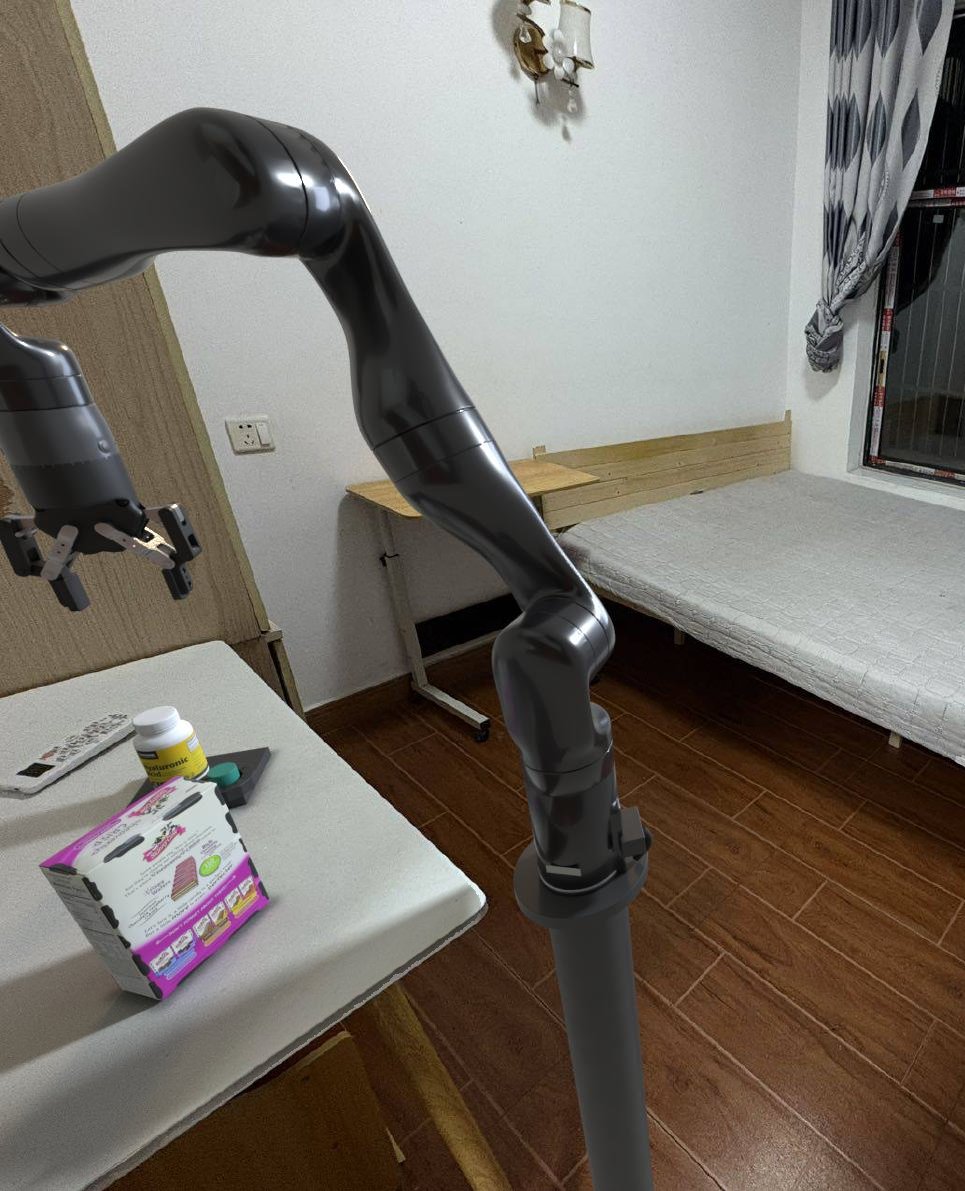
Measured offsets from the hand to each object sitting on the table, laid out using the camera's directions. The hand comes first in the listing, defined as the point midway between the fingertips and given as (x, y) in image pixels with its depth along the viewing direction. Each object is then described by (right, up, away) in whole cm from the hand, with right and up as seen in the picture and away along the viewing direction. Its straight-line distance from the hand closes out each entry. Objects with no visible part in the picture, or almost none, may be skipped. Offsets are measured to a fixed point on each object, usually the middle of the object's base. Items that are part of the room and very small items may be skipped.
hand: (132, 602), depth 69 cm
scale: (-4, -24, +13) cm, 27 cm away
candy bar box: (+13, -34, -6) cm, 37 cm away
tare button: (+1, -22, +11) cm, 25 cm away
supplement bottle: (-6, -23, +12) cm, 27 cm away
